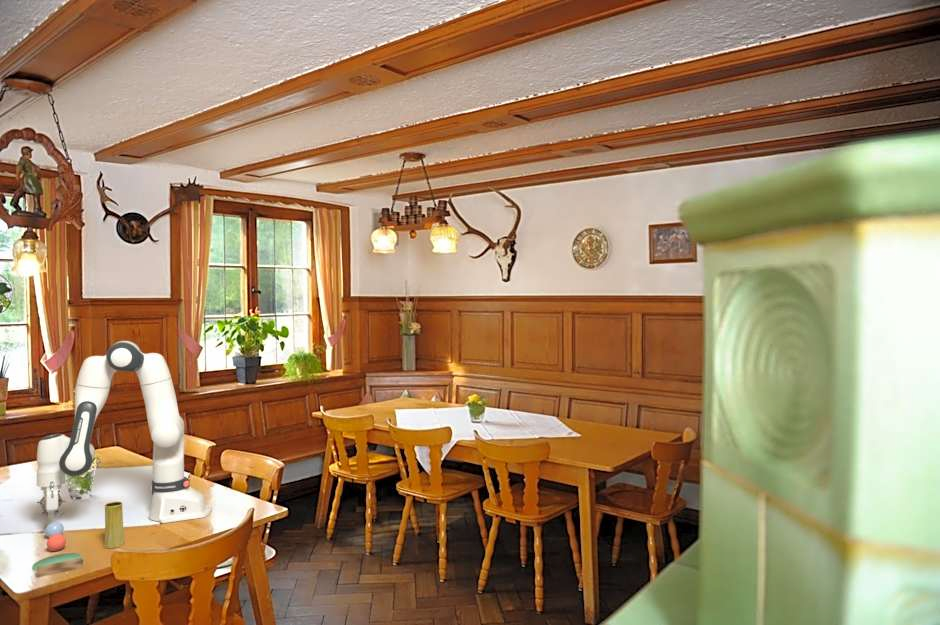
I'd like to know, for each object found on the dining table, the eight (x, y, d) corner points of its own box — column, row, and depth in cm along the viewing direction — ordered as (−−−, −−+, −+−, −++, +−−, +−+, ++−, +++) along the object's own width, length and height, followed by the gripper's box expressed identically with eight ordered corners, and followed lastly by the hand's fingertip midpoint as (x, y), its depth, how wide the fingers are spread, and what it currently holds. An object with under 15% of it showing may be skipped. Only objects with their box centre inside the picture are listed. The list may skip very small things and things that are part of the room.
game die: (52, 522, 253) (47, 507, 247) (35, 513, 254) (29, 498, 248) (71, 505, 260) (67, 490, 254) (54, 496, 261) (49, 481, 255)
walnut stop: (82, 565, 203) (82, 557, 203) (83, 567, 202) (82, 559, 202) (36, 575, 196) (36, 566, 196) (37, 577, 195) (36, 569, 195)
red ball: (68, 546, 219) (68, 530, 219) (62, 552, 213) (62, 536, 213) (50, 548, 217) (50, 532, 217) (44, 554, 212) (43, 538, 212)
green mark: (90, 551, 214) (90, 551, 214) (75, 569, 201) (75, 568, 201) (42, 556, 211) (42, 555, 211) (24, 574, 197) (24, 573, 197)
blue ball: (66, 534, 230) (65, 518, 230) (60, 539, 225) (60, 524, 225) (48, 535, 229) (48, 520, 229) (42, 541, 224) (42, 525, 223)
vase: (109, 542, 223) (108, 501, 222) (127, 541, 223) (127, 500, 223) (100, 549, 217) (100, 507, 216) (119, 548, 217) (118, 506, 217)
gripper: (63, 484, 227) (62, 523, 228) (59, 471, 244) (59, 507, 244) (41, 487, 224) (41, 526, 224) (40, 473, 241) (39, 510, 241)
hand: (50, 516), depth 234 cm, fingers closed
